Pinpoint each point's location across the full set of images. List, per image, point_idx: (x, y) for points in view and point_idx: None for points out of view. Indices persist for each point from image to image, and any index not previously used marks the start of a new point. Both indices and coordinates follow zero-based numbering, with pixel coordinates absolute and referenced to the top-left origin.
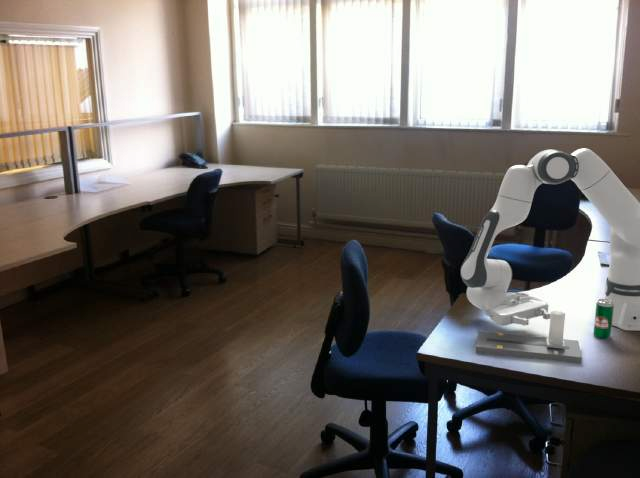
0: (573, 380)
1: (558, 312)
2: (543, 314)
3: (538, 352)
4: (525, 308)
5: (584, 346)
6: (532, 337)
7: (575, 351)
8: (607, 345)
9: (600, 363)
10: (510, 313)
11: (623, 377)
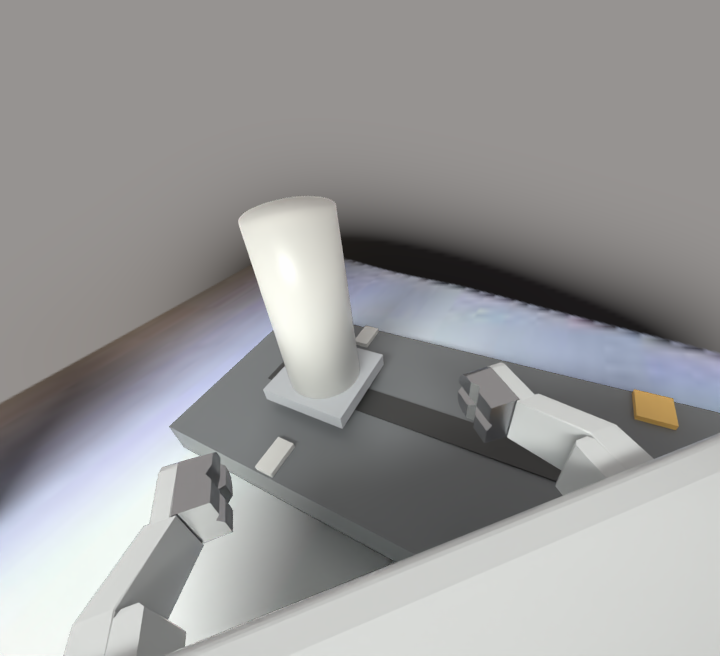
0: (387, 271)
1: (270, 219)
2: (216, 508)
3: (439, 347)
4: (410, 620)
5: (152, 445)
6: (394, 515)
7: None
8: (53, 438)
9: (239, 327)
10: (697, 463)
11: (254, 277)
